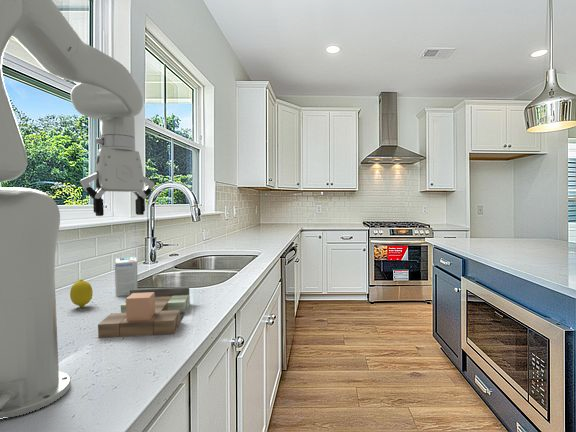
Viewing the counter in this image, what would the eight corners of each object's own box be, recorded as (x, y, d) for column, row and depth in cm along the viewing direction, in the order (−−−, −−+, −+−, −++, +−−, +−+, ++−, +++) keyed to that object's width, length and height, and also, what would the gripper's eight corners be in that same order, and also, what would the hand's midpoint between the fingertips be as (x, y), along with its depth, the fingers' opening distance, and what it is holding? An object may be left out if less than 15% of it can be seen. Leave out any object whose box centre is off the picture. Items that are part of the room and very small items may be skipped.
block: (149, 319, 82) (149, 297, 82) (126, 320, 82) (125, 298, 81) (155, 312, 87) (154, 292, 87) (133, 314, 86) (132, 293, 86)
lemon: (83, 310, 100) (82, 281, 100) (65, 309, 101) (64, 281, 101) (97, 305, 106) (96, 277, 105) (80, 304, 107) (79, 277, 107)
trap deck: (174, 333, 81) (173, 311, 81) (98, 338, 79) (97, 315, 79) (189, 304, 105) (189, 286, 105) (131, 306, 103) (131, 289, 103)
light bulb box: (115, 289, 125) (114, 258, 124) (137, 287, 128) (136, 256, 127) (115, 296, 115) (114, 262, 115) (138, 294, 118) (137, 260, 117)
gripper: (85, 138, 81) (87, 216, 81) (159, 147, 93) (161, 214, 94) (74, 143, 86) (76, 216, 86) (145, 150, 98) (147, 214, 99)
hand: (120, 215), depth 90 cm, fingers open, 9 cm apart
